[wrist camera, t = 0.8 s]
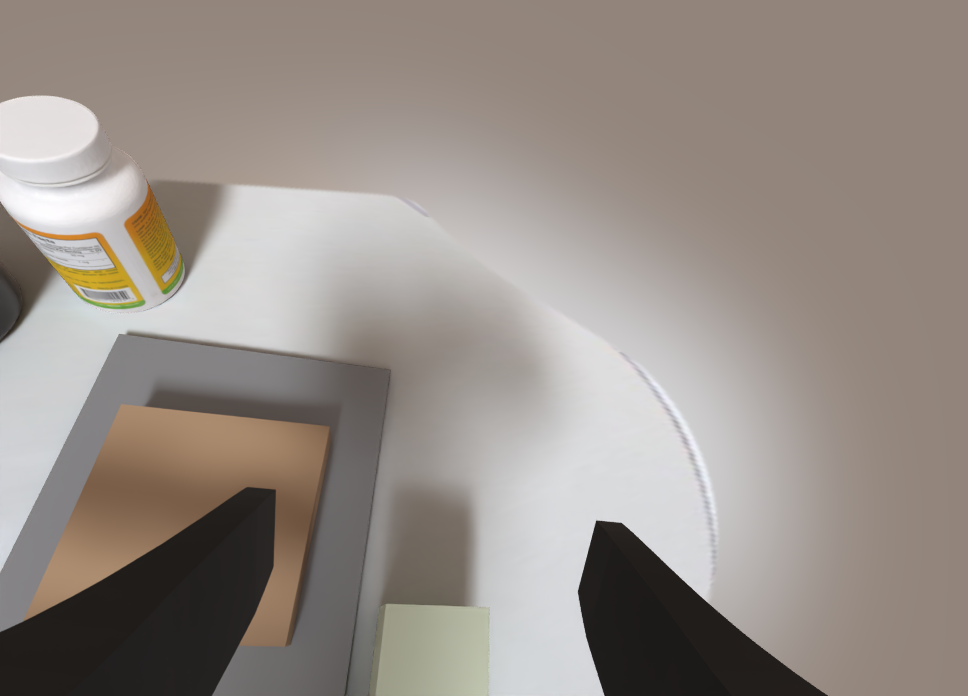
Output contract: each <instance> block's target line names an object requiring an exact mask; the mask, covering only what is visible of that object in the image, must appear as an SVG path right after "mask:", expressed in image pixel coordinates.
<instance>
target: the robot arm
mask: <svg viewBox="0 0 968 696" xmlns="http://www.w3.org/2000/svg"><path fill="white" fill-rule="evenodd" d="M275 507H276V490H275V489H265V488H255V487H246V488H244V489H243V490H241V491H240V492H238V493H237V494H235V495H234V496H232V497H231V498H229V499H228V500H226V501H225V502H223V503H222V504H221V505H219V506H218V507H216V508H215V509H213V510H212V511H210V512H209V513H207V514H206V515H204V516H203V517H202V518H200V519H199V520H197V521H196V522H194V523H193V524H191V525H189V526H188V527H186V528H185V529H183V530H182V531H180V532H179V533H177V534H176V535H174V536H173V537H171V538H170V539H168V540H167V541H165V542H164V543H162V544H161V545H159V546H157V547H156V548H154V549H152V550H151V551H149V552H147V553H146V554H144V555H142V556H141V557H139V558H138V559H136V560H134V561H133V562H131V563H129V564H128V565H126V566H124V567H123V568H121V569H119V570H118V571H116V572H114V573H113V574H111V575H109V576H108V577H106V578H104V579H103V580H101V581H99V582H97V583H95V584H94V585H92V586H90V587H88V588H86V589H85V590H83V591H81V592H79V593H77V594H75V595H74V596H72V597H70V598H68V599H66V600H64V601H62V602H60V603H58V604H56V605H54V606H52V607H50V608H49V609H47V610H45V611H43V612H41V613H39V614H37V615H35V616H33V617H31V618H29V619H27V620H25V621H23V622H21V623H19V624H16V625H14V626H12V627H10V628H8V629H6V630H3V631H1V632H0V696H212V695H213V693H214V691H215V689H216V687H217V685H218V684H219V682H220V680H221V678H222V676H223V674H224V672H225V670H226V669H227V667H228V665H229V663H230V661H231V659H232V657H233V655H234V654H235V652H236V650H237V648H238V646H239V644H240V642H241V640H242V638H243V636H244V635H245V633H246V631H247V629H248V627H249V625H250V623H251V621H252V619H253V617H254V615H255V613H256V611H257V608H258V606H259V603H260V601H261V598H262V596H263V593H264V591H265V588H266V586H267V583H268V580H269V578H270V575H271V573H272V570H273V567H274V539H275ZM578 595H579V601H580V607H581V612H582V618H583V623H584V628H585V633H586V638H587V641H588V644H589V648H590V651H591V654H592V657H593V661H594V664H595V667H596V670H597V673H598V677H599V680H600V683H601V686H602V689H603V692H604V695H605V696H828V695H826V694H825V693H823V692H821V691H820V690H819V689H817V688H816V687H814V686H813V685H811V684H810V683H809V682H807V681H806V680H804V679H803V678H802V677H800V676H799V675H797V674H796V673H795V672H793V671H792V670H790V669H789V668H788V667H786V666H785V665H784V664H783V663H781V662H780V661H779V660H777V659H776V658H775V657H773V656H772V655H771V654H769V653H768V652H767V651H765V650H764V649H763V648H761V647H760V646H759V645H757V644H756V643H755V642H754V641H752V640H751V639H750V638H749V637H747V636H746V635H745V634H744V633H742V632H741V631H740V630H739V629H738V628H736V627H735V626H734V625H733V624H732V623H731V622H729V621H728V620H727V619H726V618H725V617H724V616H722V615H721V614H720V613H719V612H718V611H716V610H715V609H714V608H713V607H712V606H711V605H710V604H708V603H707V602H706V601H705V600H704V599H703V598H702V597H701V596H699V595H698V594H697V593H696V592H695V591H694V590H693V589H692V588H691V587H690V586H688V585H687V584H686V583H685V582H684V581H683V580H682V579H681V578H680V577H679V576H678V575H677V574H676V573H675V572H674V571H672V570H671V569H670V568H669V567H668V566H667V565H666V564H665V563H664V562H663V561H662V560H661V559H660V558H659V557H658V556H657V555H656V554H655V553H654V552H653V551H652V550H651V549H649V548H648V547H647V546H646V545H645V544H644V543H643V542H642V541H641V540H640V539H639V538H638V537H637V536H636V535H635V534H634V533H633V532H631V531H630V530H629V529H628V528H627V527H626V526H625V525H623V524H622V523H616V522H606V521H596V524H595V527H594V531H593V535H592V539H591V543H590V547H589V551H588V554H587V558H586V562H585V566H584V570H583V574H582V578H581V582H580V585H579V589H578Z"/></svg>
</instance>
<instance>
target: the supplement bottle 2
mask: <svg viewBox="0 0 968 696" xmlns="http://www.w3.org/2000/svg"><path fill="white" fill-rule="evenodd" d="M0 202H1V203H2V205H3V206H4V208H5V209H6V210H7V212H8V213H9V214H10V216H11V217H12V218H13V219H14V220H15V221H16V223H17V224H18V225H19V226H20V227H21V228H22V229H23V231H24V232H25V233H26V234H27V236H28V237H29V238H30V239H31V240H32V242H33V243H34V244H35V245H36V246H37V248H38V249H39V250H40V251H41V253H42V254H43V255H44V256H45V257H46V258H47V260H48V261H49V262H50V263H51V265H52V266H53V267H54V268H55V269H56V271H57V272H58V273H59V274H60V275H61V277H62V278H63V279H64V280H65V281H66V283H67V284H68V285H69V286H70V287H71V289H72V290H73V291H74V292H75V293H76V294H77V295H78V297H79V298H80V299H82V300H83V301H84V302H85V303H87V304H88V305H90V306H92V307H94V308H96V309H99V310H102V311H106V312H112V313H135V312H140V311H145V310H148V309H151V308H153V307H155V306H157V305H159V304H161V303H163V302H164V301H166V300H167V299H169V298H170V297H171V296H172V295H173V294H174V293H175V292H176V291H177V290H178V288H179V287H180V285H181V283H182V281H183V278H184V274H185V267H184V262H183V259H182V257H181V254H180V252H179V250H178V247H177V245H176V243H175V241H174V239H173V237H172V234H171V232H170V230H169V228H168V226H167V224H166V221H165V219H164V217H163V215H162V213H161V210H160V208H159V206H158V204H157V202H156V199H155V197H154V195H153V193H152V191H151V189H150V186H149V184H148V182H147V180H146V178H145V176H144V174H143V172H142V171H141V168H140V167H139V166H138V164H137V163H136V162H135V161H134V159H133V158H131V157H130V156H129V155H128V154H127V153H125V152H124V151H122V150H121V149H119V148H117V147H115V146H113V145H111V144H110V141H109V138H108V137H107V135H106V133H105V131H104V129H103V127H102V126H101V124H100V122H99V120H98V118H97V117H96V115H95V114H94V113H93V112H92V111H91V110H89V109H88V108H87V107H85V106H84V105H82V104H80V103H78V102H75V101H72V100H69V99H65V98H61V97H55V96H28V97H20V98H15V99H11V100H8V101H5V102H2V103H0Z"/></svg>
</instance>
